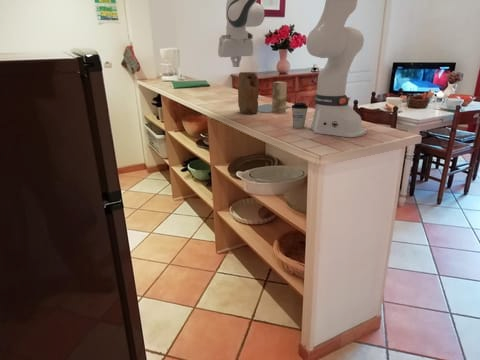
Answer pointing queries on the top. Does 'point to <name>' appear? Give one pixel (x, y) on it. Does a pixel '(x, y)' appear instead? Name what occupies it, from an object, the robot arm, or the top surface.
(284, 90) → the oak post
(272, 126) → the top surface
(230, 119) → the top surface
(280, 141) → the top surface
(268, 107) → the grey rubber mat
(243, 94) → the block
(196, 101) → the top surface
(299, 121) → the coffee cup
